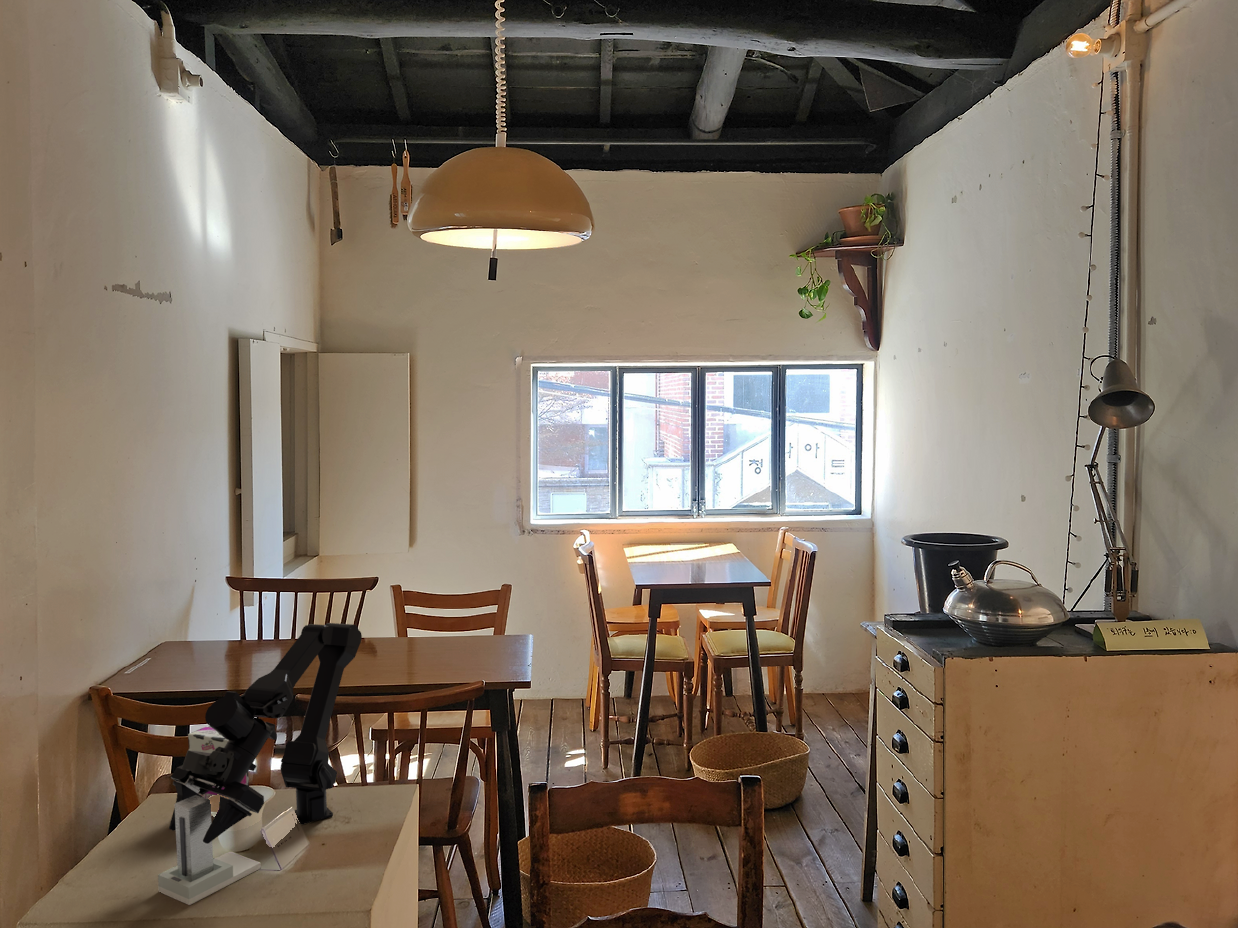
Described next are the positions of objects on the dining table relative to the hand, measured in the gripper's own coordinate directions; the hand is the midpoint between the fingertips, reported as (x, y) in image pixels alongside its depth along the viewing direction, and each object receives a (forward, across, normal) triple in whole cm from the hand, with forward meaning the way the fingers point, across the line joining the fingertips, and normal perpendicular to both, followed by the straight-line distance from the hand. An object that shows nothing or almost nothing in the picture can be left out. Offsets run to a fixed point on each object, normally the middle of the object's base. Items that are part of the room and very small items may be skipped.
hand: (187, 836), depth 160 cm
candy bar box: (-9, -22, +22) cm, 32 cm away
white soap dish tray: (+4, 0, +9) cm, 10 cm away
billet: (+5, 0, +7) cm, 9 cm away
